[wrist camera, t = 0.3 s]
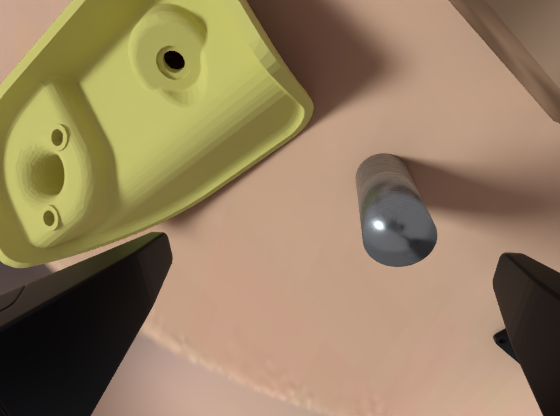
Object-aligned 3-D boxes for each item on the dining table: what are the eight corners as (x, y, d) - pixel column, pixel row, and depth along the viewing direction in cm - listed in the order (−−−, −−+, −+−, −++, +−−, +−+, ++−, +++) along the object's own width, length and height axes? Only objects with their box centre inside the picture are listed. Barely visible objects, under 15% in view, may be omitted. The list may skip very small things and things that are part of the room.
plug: (419, 176, 21) (452, 239, 15) (379, 208, 22) (395, 277, 16) (383, 143, 20) (403, 193, 14) (345, 178, 21) (348, 238, 15)
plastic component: (169, -115, 14) (285, 78, 13) (245, -16, 21) (325, 115, 20) (-53, 146, 20) (11, 290, 19) (62, 156, 27) (113, 262, 26)
